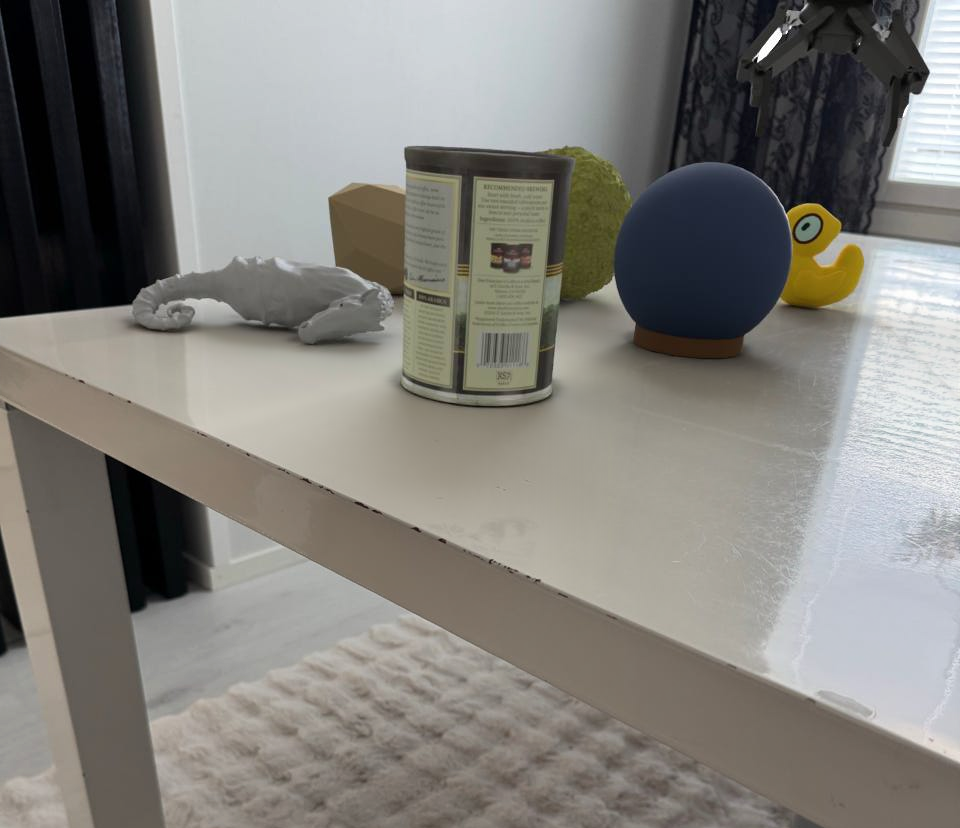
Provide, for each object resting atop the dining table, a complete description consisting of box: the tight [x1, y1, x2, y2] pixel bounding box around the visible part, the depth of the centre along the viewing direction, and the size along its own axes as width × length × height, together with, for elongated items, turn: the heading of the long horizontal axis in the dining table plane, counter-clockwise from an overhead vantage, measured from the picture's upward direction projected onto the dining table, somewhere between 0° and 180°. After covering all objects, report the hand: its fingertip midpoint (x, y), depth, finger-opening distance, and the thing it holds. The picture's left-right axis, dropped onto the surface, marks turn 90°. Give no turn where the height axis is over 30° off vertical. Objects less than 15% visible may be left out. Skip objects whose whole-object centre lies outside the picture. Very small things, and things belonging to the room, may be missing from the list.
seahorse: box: [131, 255, 395, 345], centre depth 74 cm, size 5×12×20 cm
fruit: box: [535, 144, 634, 301], centre depth 95 cm, size 16×14×15 cm
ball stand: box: [614, 161, 792, 359], centre depth 77 cm, size 14×14×14 cm
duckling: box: [779, 203, 865, 308], centre depth 100 cm, size 11×5×10 cm, turn 80°
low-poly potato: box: [327, 182, 406, 295], centre depth 92 cm, size 15×11×12 cm
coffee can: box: [400, 145, 576, 407], centre depth 61 cm, size 10×10×14 cm
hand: (824, 132), depth 104 cm, fingers open, 13 cm apart
